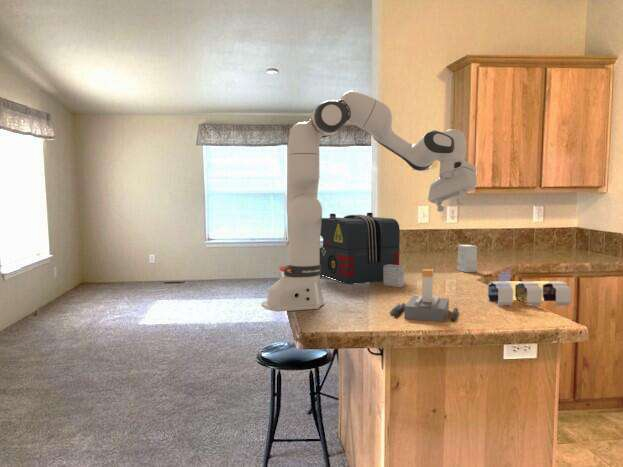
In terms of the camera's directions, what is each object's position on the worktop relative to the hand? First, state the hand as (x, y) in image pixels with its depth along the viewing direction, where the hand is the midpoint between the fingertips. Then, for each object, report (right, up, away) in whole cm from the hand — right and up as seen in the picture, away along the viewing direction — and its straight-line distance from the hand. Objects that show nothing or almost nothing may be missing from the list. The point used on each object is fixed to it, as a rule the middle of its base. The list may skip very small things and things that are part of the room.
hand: (449, 207), depth 170 cm
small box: (+30, -28, +76) cm, 86 cm away
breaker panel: (-11, -35, -12) cm, 39 cm away
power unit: (-27, -30, +59) cm, 71 cm away
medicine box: (-13, -32, +38) cm, 51 cm away
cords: (-12, -35, -11) cm, 39 cm away
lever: (-11, -31, -12) cm, 35 cm away
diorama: (+29, -34, +4) cm, 45 cm away
